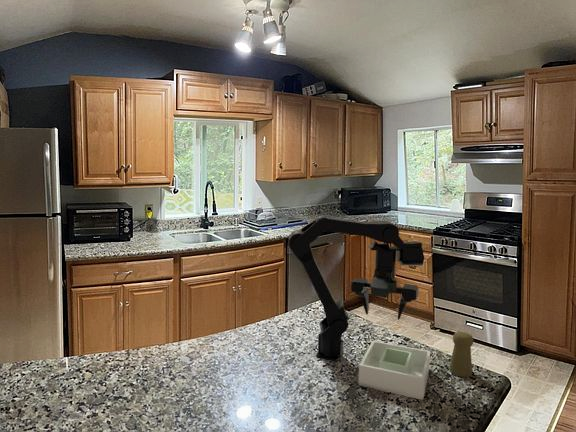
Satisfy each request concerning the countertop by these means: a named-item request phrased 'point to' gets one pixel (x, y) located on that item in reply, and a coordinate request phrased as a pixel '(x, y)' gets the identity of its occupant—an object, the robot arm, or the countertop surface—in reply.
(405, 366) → the sage crate
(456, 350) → the olive pepper shaker
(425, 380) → the white open box
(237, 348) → the countertop surface
